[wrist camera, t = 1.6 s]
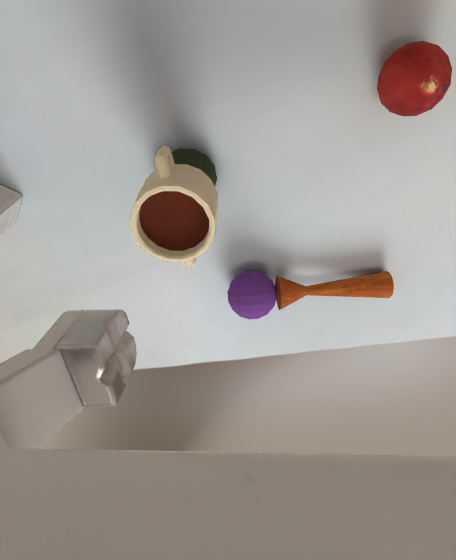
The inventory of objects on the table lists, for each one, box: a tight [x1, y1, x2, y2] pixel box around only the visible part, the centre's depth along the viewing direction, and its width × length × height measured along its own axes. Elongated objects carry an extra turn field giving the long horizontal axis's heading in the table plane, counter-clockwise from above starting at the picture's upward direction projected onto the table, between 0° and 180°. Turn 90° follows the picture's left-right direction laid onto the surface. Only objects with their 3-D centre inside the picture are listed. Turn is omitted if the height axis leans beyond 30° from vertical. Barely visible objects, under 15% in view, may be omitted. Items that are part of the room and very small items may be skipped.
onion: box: [377, 41, 452, 116], centre depth 33 cm, size 6×6×8 cm
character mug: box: [130, 146, 218, 268], centre depth 37 cm, size 11×7×13 cm, turn 10°
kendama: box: [228, 271, 394, 319], centre depth 48 cm, size 6×6×20 cm
